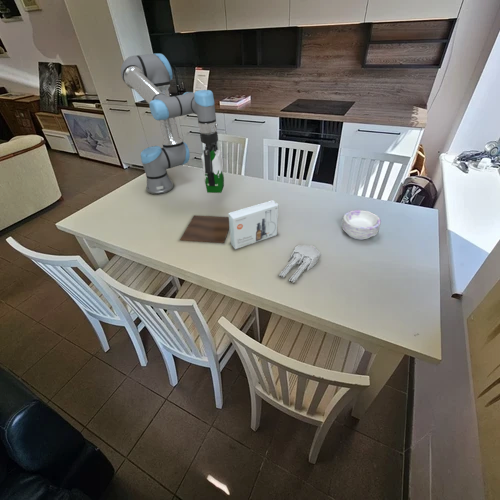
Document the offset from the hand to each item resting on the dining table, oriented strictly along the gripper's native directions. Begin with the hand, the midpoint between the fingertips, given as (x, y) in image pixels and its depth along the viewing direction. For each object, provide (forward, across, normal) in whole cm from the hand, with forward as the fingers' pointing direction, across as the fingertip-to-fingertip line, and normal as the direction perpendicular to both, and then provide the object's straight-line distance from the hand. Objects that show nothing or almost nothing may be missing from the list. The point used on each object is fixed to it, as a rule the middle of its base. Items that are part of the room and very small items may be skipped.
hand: (214, 180), depth 133 cm
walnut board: (+16, -17, +1) cm, 24 cm away
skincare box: (+16, -23, -22) cm, 36 cm away
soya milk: (+5, 0, 0) cm, 5 cm away
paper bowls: (+16, -14, -67) cm, 71 cm away
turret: (+16, -38, -42) cm, 59 cm away
